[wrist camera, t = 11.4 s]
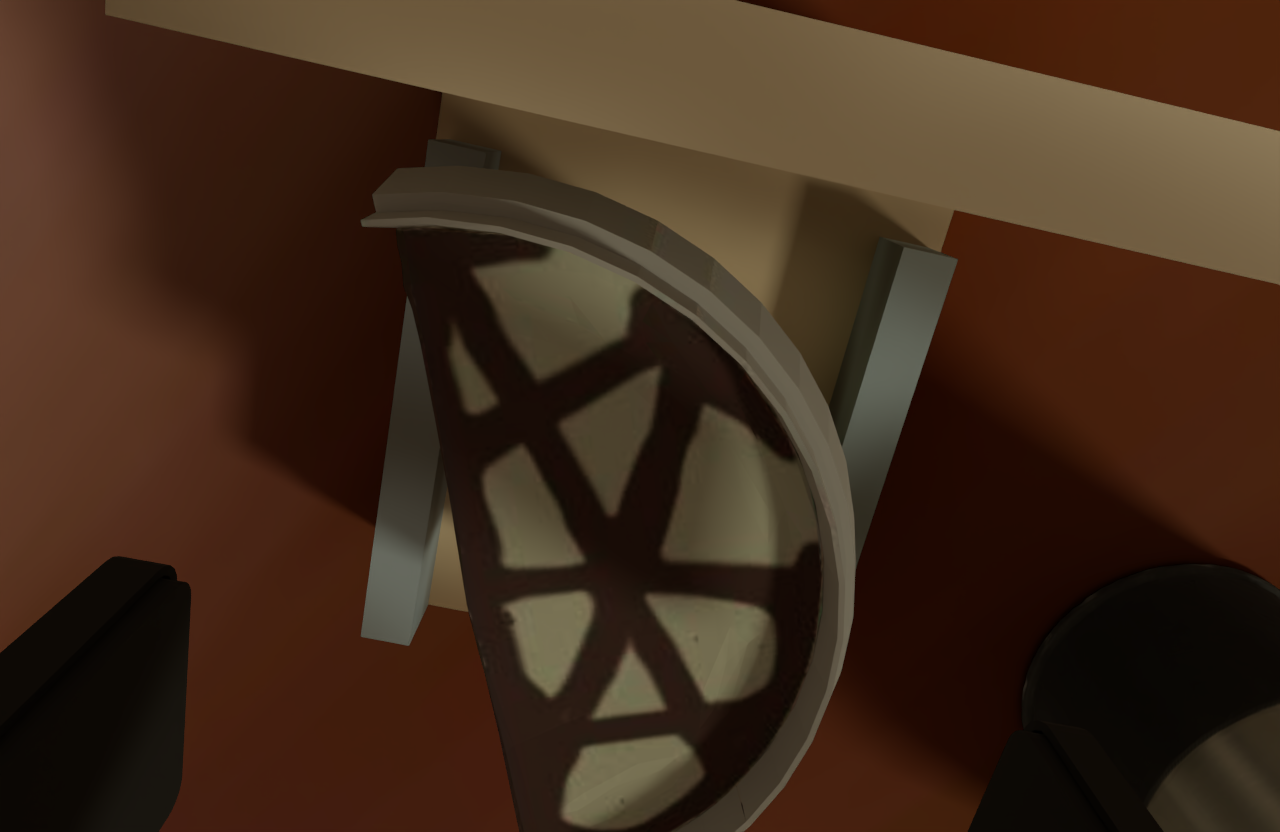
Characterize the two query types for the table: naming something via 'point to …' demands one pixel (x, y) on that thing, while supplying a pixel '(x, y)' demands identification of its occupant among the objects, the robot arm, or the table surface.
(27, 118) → the table surface
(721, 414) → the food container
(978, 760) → the table surface
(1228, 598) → the milk frother
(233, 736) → the table surface
